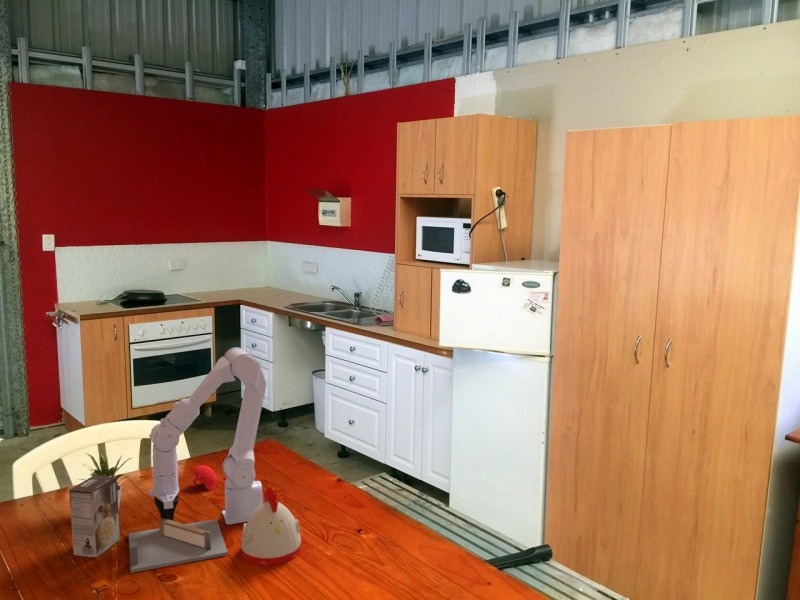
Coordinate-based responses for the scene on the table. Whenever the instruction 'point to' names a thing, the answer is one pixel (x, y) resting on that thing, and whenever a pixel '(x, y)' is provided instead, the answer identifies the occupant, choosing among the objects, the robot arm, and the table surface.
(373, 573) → the table surface
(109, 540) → the coffee box
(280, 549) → the kitchen timer
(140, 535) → the frame
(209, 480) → the cap
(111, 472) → the house plant
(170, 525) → the tan wooden bar
